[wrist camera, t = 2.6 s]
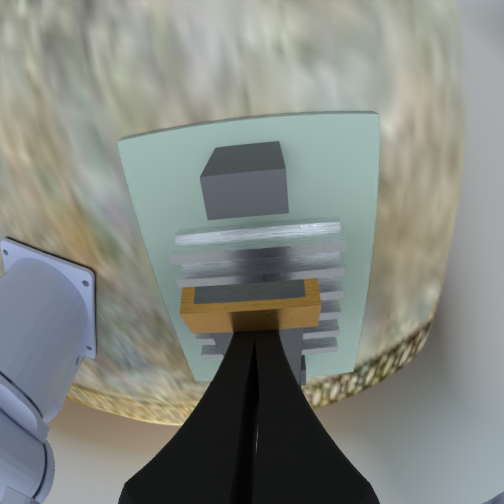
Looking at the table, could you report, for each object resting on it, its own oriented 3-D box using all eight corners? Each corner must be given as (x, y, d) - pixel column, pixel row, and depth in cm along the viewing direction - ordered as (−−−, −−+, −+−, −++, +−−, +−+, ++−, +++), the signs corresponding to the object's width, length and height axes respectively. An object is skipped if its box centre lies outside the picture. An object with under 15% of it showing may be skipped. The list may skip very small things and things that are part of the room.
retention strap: (303, 382, 19) (304, 398, 19) (242, 386, 20) (242, 401, 19) (316, 272, 9) (321, 304, 9) (183, 281, 10) (179, 313, 9)
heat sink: (331, 330, 19) (336, 354, 18) (207, 338, 20) (203, 362, 18) (338, 216, 15) (347, 236, 13) (177, 229, 16) (167, 251, 14)
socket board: (351, 363, 23) (362, 416, 19) (197, 373, 24) (188, 425, 20) (373, 111, 13) (419, 133, 9) (123, 137, 14) (74, 169, 10)
